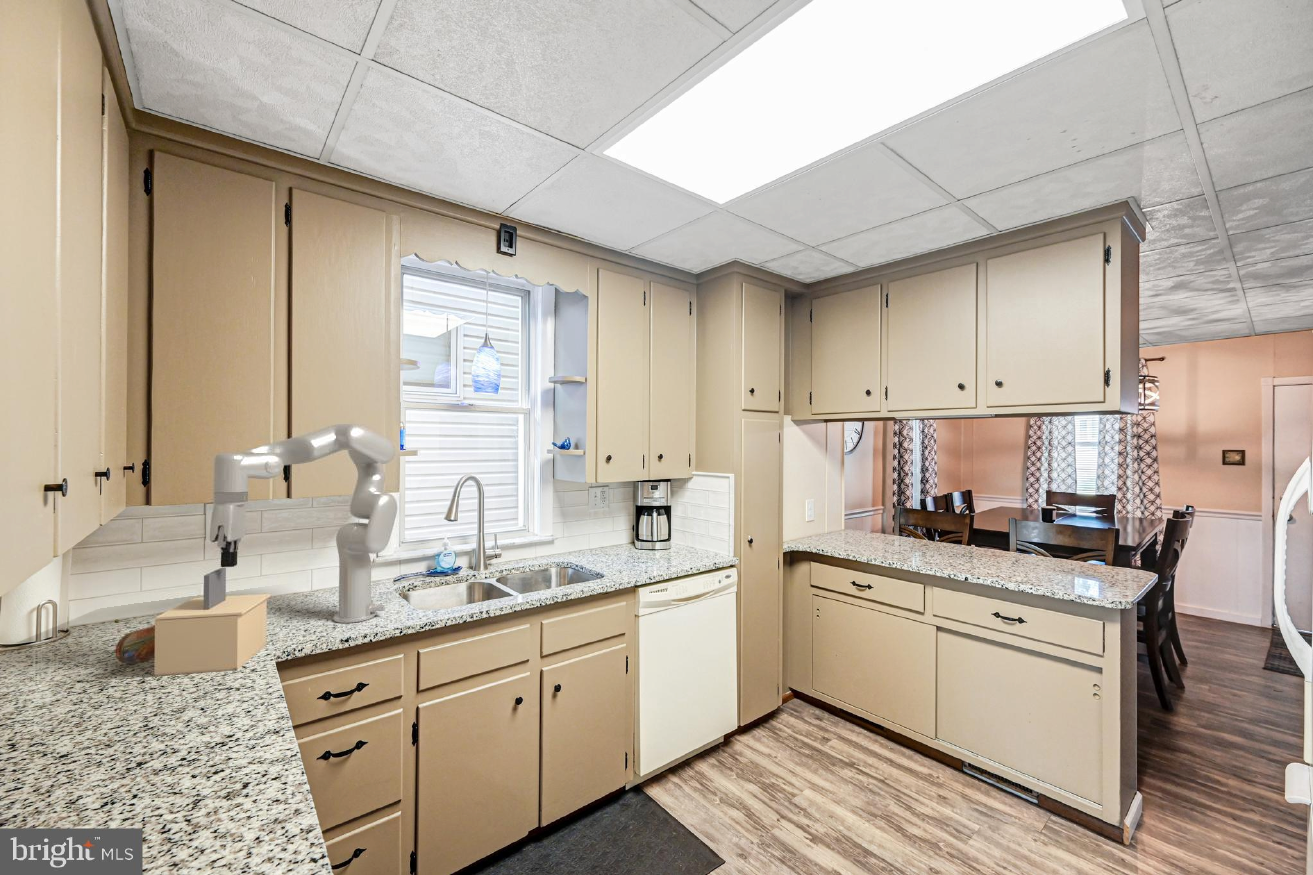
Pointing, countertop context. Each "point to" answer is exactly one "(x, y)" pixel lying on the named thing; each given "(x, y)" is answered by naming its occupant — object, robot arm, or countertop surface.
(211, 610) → the lid
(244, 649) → the carton
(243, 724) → the countertop surface
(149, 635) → the tin
